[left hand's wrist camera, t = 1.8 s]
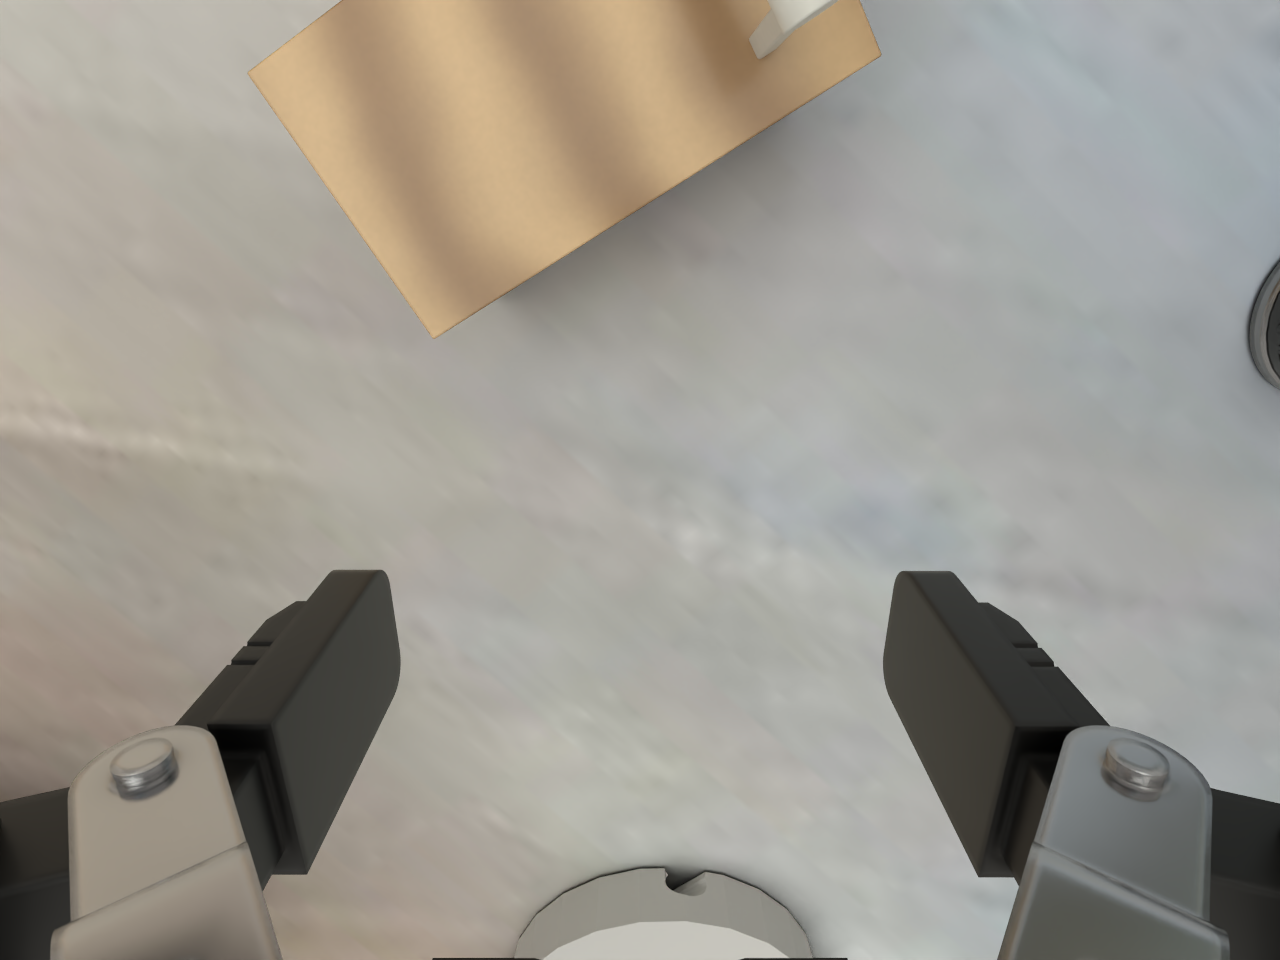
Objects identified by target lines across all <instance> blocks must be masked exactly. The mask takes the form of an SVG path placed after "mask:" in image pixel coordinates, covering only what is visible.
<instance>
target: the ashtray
mask: <svg viewBox="0 0 1280 960" xmlns="http://www.w3.org/2000/svg"><path fill="white" fill-rule="evenodd" d="M667 876H668V874H667V873H666V871H665V868H654V869H636V870H632V871H627V872H623V873H618V874H613V875H609V876H604V877H600V878H597V879H595V880H593V881H590V882H588V883H586V884H584V885H581V886H579V887H577V888H575V889H573V890H570V891H568V892H566V893H564V894H562V895H561V896H560V897H558V898H557V899H556V900H555V901H553V902H552V903H551V904H550V905H548V906H547V907H546V908H544V909H543V910H542V911H541V912H539V913H538V914H537V915H536V916H535V917H534V919H533V920H532V922H531V923H530V924H529V926H528V927H527V929H526V930H525V932H524V933H523V934H522V936H521V937H520V939H519V940H518V944H517V948H516V952H515V955H514V958H536V959H540V960H740V959H744V958H813V956H812V953H811V950H810V946H809V943H808V940H807V936H806V934H805V932H804V931H803V930H802V928H801V927H800V926H799V924H798V923H797V922H796V920H795V919H794V918H793V916H792V915H791V914H790V912H789V911H788V910H787V909H786V908H784V907H783V906H782V905H780V904H779V903H777V902H776V901H775V900H773V899H772V898H770V897H769V896H768V895H766V894H765V893H764V892H762V891H761V890H759V889H757V888H755V887H752V886H750V885H747V884H745V883H742V882H740V881H737V880H735V879H732V878H730V877H727V876H725V875H720V874H715V873H709V872H704V873H703V874H701V875H699V876H697V877H696V878H694V879H692V880H690V881H689V882H687V883H685V884H683V885H682V886H680V887H678V888H676V889H675V890H673V891H672V890H671V889H669V888H668V887H667V885H666V883H665V880H666V877H667Z"/></svg>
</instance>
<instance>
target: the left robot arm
mask: <svg viewBox="0 0 1280 960" xmlns="http://www.w3.org/2000/svg"><path fill="white" fill-rule="evenodd" d="M1250 348H1251V353H1252V357H1253V359H1254V362H1255V364H1256V366H1257V368H1258V370H1259V371H1260V373H1261V374H1262V376H1263V377H1264V378H1265V379H1266V380H1267V381H1268V382H1269V383H1270V384H1272V385H1273V386H1274V387H1276V388H1278V389H1279V390H1280V262H1279V263H1278V265H1277V266H1276V267H1275V268H1274V270H1273V271H1272V273H1271V274H1270V276H1269V277H1268V279H1267V281H1266V282H1265V284H1264V286H1263V288H1262V290H1261V292H1260V294H1259V296H1258V298H1257V301H1256V303H1255V306H1254V310H1253V313H1252V318H1251V323H1250ZM247 643H248V644H247V646H243V648H242V649H241V650H240V651H239V652H238V653H237V654H236V656H235V657H234V658H233V659H232V660H231V661H232V663H231V665H227V666H226V667H225V668H224V669H223V671H222V672H221V673H220V674H219V675H218V676H217V677H216V679H215V680H214V681H213V682H212V683H211V684H210V685H209V687H208V688H207V689H206V690H205V691H204V692H203V693H202V695H201V696H200V697H199V698H198V699H197V700H196V701H195V703H194V704H193V705H192V706H191V707H190V708H189V710H188V711H187V712H186V713H185V714H184V715H183V716H182V718H181V719H180V720H179V721H178V722H177V723H176V724H175V726H168V727H162V728H158V729H153V730H150V731H147V732H143V733H140V734H138V735H135V736H133V737H130V738H128V739H126V740H124V741H122V742H120V743H117V744H116V745H114V746H112V747H110V748H109V749H107V750H105V751H104V752H102V753H101V754H100V755H98V756H97V757H95V758H94V759H93V760H92V761H91V762H89V763H88V764H87V765H86V766H85V767H84V768H83V769H82V770H81V771H80V772H79V774H78V775H77V776H76V778H75V779H74V781H73V782H72V784H71V786H70V787H68V788H64V789H59V790H55V791H50V792H46V793H41V794H37V795H32V796H28V797H23V798H19V799H14V800H10V801H5V802H0V960H283V959H282V955H281V952H280V949H279V945H278V942H277V939H276V935H275V932H274V929H273V925H272V922H271V919H270V915H269V912H268V909H267V905H266V902H265V899H264V895H263V890H264V888H265V886H266V884H267V882H268V880H269V879H270V877H271V875H272V874H307V873H308V871H309V869H310V867H311V865H312V863H313V861H314V859H315V857H316V855H317V853H318V851H319V849H320V847H321V845H322V843H323V841H324V838H325V836H326V834H327V832H328V830H329V828H330V826H331V824H332V822H333V820H334V818H335V816H336V814H337V812H338V810H339V808H340V806H341V804H342V802H343V800H344V797H345V795H346V793H347V791H348V789H349V787H350V785H351V783H352V781H353V779H354V777H355V775H356V773H357V771H358V769H359V767H360V765H361V763H362V761H363V759H364V756H365V754H366V752H367V750H368V748H369V746H370V744H371V742H372V740H373V738H374V736H375V734H376V732H377V730H378V728H379V726H380V724H381V722H382V720H383V718H384V715H385V713H386V711H387V709H388V707H389V705H390V703H391V701H392V699H393V697H394V695H395V692H396V689H397V686H398V682H399V676H400V649H399V643H398V636H397V629H396V622H395V616H394V609H393V602H392V596H391V589H390V583H389V579H388V577H387V574H386V573H385V572H384V571H383V570H333V571H331V572H330V573H329V574H328V575H327V577H326V578H325V579H324V580H323V582H322V583H321V584H320V585H319V587H318V588H317V589H316V590H315V591H314V593H313V594H312V595H311V596H310V598H309V599H308V600H307V601H296V602H294V603H293V604H291V605H290V606H288V607H287V608H285V609H283V610H282V611H280V612H279V613H277V614H275V615H274V616H272V617H271V618H269V619H267V620H266V621H265V622H264V623H263V625H262V626H261V627H260V628H259V629H258V630H257V632H256V633H255V634H254V635H253V636H252V637H251V638H250V640H249V641H248V642H247ZM1037 644H1038V643H1037V642H1036V641H1035V640H1034V639H1033V638H1032V637H1031V636H1030V634H1029V633H1028V632H1027V631H1026V630H1025V629H1024V628H1023V626H1022V625H1021V624H1020V623H1019V622H1018V621H1017V620H1015V619H1013V618H1012V617H1010V616H1009V615H1007V614H1005V613H1004V612H1002V611H1001V610H999V609H997V608H996V607H994V606H993V605H991V604H989V603H978V602H977V601H976V599H975V598H974V597H973V596H972V595H971V593H970V592H969V591H968V590H967V588H966V587H965V586H964V585H963V584H962V582H961V581H960V580H959V579H958V578H957V576H956V575H955V574H954V573H952V572H951V571H901V572H900V573H899V574H898V575H897V577H896V580H895V583H894V589H893V595H892V602H891V609H890V615H889V622H888V629H887V635H886V642H885V648H884V656H883V671H884V679H885V685H886V689H887V692H888V695H889V697H890V699H891V701H892V703H893V705H894V707H895V709H896V711H897V713H898V715H899V717H900V719H901V721H902V723H903V725H904V727H905V729H906V731H907V733H908V735H909V737H910V739H911V742H912V744H913V746H914V748H915V750H916V752H917V754H918V756H919V758H920V760H921V762H922V764H923V766H924V768H925V770H926V772H927V774H928V776H929V778H930V780H931V782H932V784H933V786H934V788H935V790H936V792H937V794H938V796H939V798H940V800H941V802H942V804H943V806H944V808H945V810H946V812H947V814H948V816H949V818H950V820H951V823H952V825H953V827H954V829H955V831H956V833H957V835H958V837H959V839H960V841H961V843H962V845H963V847H964V849H965V851H966V853H967V855H968V857H969V859H970V861H971V863H972V865H973V867H974V869H975V871H976V873H977V875H978V877H1014V878H1015V880H1016V882H1017V883H1018V885H1019V889H1018V892H1017V895H1016V899H1015V902H1014V905H1013V909H1012V912H1011V915H1010V919H1009V922H1008V925H1007V929H1006V932H1005V935H1004V939H1003V942H1002V945H1001V949H1000V952H999V955H998V959H997V960H1280V804H1279V803H1274V802H1270V801H1265V800H1261V799H1256V798H1252V797H1247V796H1243V795H1238V794H1234V793H1229V792H1225V791H1220V790H1216V789H1212V788H1210V786H1209V784H1208V782H1207V781H1206V779H1205V778H1204V776H1203V775H1202V774H1201V772H1200V771H1199V770H1198V769H1197V768H1196V767H1195V766H1194V765H1193V764H1192V763H1190V762H1189V761H1188V760H1187V759H1186V758H1185V757H1183V756H1182V755H1180V754H1179V753H1178V752H1176V751H1175V750H1173V749H1171V748H1170V747H1168V746H1166V745H1164V744H1163V743H1160V742H1158V741H1156V740H1154V739H1152V738H1150V737H1147V736H1145V735H1142V734H1140V733H1137V732H1133V731H1130V730H1127V729H1122V728H1118V727H1112V726H1110V725H1109V724H1108V723H1107V722H1106V721H1105V720H1104V718H1103V717H1102V716H1101V715H1100V714H1099V713H1098V712H1097V711H1096V709H1095V708H1094V707H1093V706H1092V705H1091V704H1090V703H1089V701H1088V700H1087V699H1086V698H1085V697H1084V696H1083V695H1082V693H1081V692H1080V691H1079V690H1078V689H1077V688H1076V687H1075V686H1074V684H1073V683H1072V682H1071V681H1070V680H1069V679H1068V678H1067V676H1066V675H1065V674H1064V673H1063V672H1062V671H1061V670H1060V668H1059V667H1054V662H1053V661H1052V659H1051V658H1050V657H1049V656H1048V655H1047V654H1046V653H1045V651H1044V650H1043V649H1042V648H1038V646H1037ZM432 960H540V959H536V958H433V959H432ZM740 960H848V959H847V958H744V959H740Z"/></svg>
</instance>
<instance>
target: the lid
mask: <svg viewBox="0 0 1280 960" xmlns="http://www.w3.org/2000/svg"><path fill="white" fill-rule="evenodd" d="M880 56H881V52H880V49H879V47H878V44H877V42H876V39H875V37H874V34H873V32H872V30H871V27H870V25H869V22H868V20H867V17H866V15H865V12H864V10H863V7H862V5H861V2H860V0H342V1H340V2H339V3H338V4H336V5H335V6H334V7H333V8H331V9H330V10H329V11H327V12H326V13H325V14H323V15H322V16H321V17H319V18H318V19H317V20H316V21H314V22H313V23H312V24H310V25H309V26H308V27H306V28H305V29H304V30H302V31H301V32H300V33H298V34H297V35H296V36H295V37H293V38H292V39H291V40H289V41H288V42H287V43H285V44H284V45H283V46H281V47H280V48H279V49H278V50H276V51H275V52H274V53H272V54H271V55H270V56H268V57H267V58H266V59H264V60H263V61H262V62H260V63H259V64H258V65H257V66H255V67H254V68H253V69H251V70H250V71H249V72H248V75H249V77H250V78H251V79H252V81H253V82H254V84H255V85H256V87H257V88H258V89H259V91H260V92H261V94H262V95H263V97H264V98H265V99H266V101H267V102H268V104H269V105H270V107H271V108H272V109H273V111H274V112H275V114H276V115H277V117H278V118H279V119H280V121H281V122H282V124H283V125H284V126H285V128H286V129H287V131H288V132H289V134H290V135H291V136H292V138H293V139H294V141H295V142H296V144H297V145H298V146H299V148H300V149H301V151H302V152H303V154H304V155H305V156H306V158H307V159H308V161H309V162H310V164H311V165H312V166H313V168H314V169H315V171H316V172H317V174H318V175H319V176H320V178H321V179H322V181H323V182H324V184H325V185H326V186H327V188H328V189H329V191H330V192H331V194H332V195H333V196H334V198H335V199H336V201H337V202H338V204H339V205H340V206H341V208H342V209H343V211H344V212H345V214H346V215H347V216H348V218H349V219H350V221H351V222H352V224H353V225H354V226H355V228H356V229H357V231H358V232H359V234H360V235H361V236H362V238H363V239H364V241H365V242H366V244H367V245H368V246H369V248H370V249H371V251H372V252H373V254H374V255H375V256H376V258H377V259H378V261H379V262H380V264H381V265H382V266H383V268H384V269H385V271H386V272H387V274H388V275H389V276H390V278H391V279H392V281H393V282H394V284H395V285H396V286H397V288H398V289H399V291H400V292H401V294H402V295H403V296H404V298H405V299H406V301H407V302H408V304H409V305H410V306H411V308H412V309H413V311H414V312H415V314H416V315H417V316H418V318H419V319H420V321H421V322H422V324H423V325H424V326H425V328H426V329H427V331H428V332H429V334H430V335H431V336H432V338H433V339H435V338H437V337H438V336H440V335H441V334H443V333H445V332H446V331H448V330H449V329H451V328H452V327H454V326H456V325H457V324H459V323H460V322H462V321H463V320H465V319H467V318H468V317H470V316H471V315H473V314H475V313H476V312H478V311H479V310H481V309H482V308H484V307H486V306H487V305H489V304H490V303H492V302H493V301H495V300H497V299H498V298H500V297H501V296H503V295H504V294H506V293H508V292H509V291H511V290H512V289H514V288H516V287H517V286H519V285H520V284H522V283H523V282H525V281H527V280H528V279H530V278H531V277H533V276H534V275H536V274H538V273H539V272H541V271H542V270H544V269H546V268H547V267H549V266H550V265H552V264H553V263H555V262H557V261H558V260H560V259H561V258H563V257H564V256H566V255H568V254H569V253H571V252H572V251H574V250H576V249H577V248H579V247H580V246H582V245H583V244H585V243H587V242H588V241H590V240H591V239H593V238H594V237H596V236H598V235H599V234H601V233H602V232H604V231H606V230H607V229H609V228H610V227H612V226H613V225H615V224H617V223H618V222H620V221H621V220H623V219H624V218H626V217H628V216H629V215H631V214H632V213H634V212H636V211H637V210H639V209H640V208H642V207H643V206H645V205H647V204H648V203H650V202H651V201H653V200H654V199H656V198H658V197H659V196H661V195H662V194H664V193H665V192H667V191H669V190H670V189H672V188H673V187H675V186H677V185H678V184H680V183H681V182H683V181H684V180H686V179H688V178H689V177H691V176H692V175H694V174H695V173H697V172H699V171H700V170H702V169H703V168H705V167H707V166H708V165H710V164H711V163H713V162H714V161H716V160H718V159H719V158H721V157H722V156H724V155H725V154H727V153H729V152H730V151H732V150H733V149H735V148H737V147H738V146H740V145H741V144H743V143H744V142H746V141H748V140H749V139H751V138H752V137H754V136H755V135H757V134H759V133H760V132H762V131H763V130H765V129H767V128H768V127H770V126H771V125H773V124H774V123H776V122H778V121H779V120H781V119H782V118H784V117H785V116H787V115H789V114H790V113H792V112H793V111H795V110H797V109H798V108H800V107H801V106H803V105H804V104H806V103H808V102H809V101H811V100H812V99H814V98H815V97H817V96H819V95H820V94H822V93H823V92H825V91H826V90H828V89H830V88H831V87H833V86H834V85H836V84H838V83H839V82H841V81H842V80H844V79H845V78H847V77H849V76H850V75H852V74H853V73H855V72H856V71H858V70H860V69H861V68H863V67H864V66H866V65H868V64H869V63H871V62H872V61H874V60H875V59H877V58H879V57H880Z"/></svg>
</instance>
